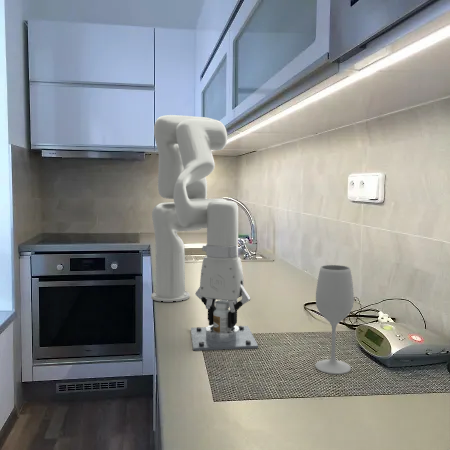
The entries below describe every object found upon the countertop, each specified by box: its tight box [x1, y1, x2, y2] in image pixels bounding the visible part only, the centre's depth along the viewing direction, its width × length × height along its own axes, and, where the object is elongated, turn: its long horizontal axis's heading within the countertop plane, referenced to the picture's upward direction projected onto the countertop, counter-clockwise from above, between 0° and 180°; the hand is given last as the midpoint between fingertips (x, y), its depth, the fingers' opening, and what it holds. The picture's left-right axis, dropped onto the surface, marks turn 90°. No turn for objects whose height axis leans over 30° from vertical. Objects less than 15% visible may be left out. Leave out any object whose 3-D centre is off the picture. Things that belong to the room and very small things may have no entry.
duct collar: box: [205, 324, 239, 342], centre depth 114 cm, size 8×8×2 cm
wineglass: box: [314, 264, 355, 375], centre depth 95 cm, size 8×8×21 cm
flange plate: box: [190, 325, 259, 351], centre depth 114 cm, size 15×15×1 cm
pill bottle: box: [213, 300, 231, 332], centre depth 114 cm, size 4×4×8 cm
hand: (222, 324), depth 114 cm, fingers closed on pill bottle, 4 cm apart
